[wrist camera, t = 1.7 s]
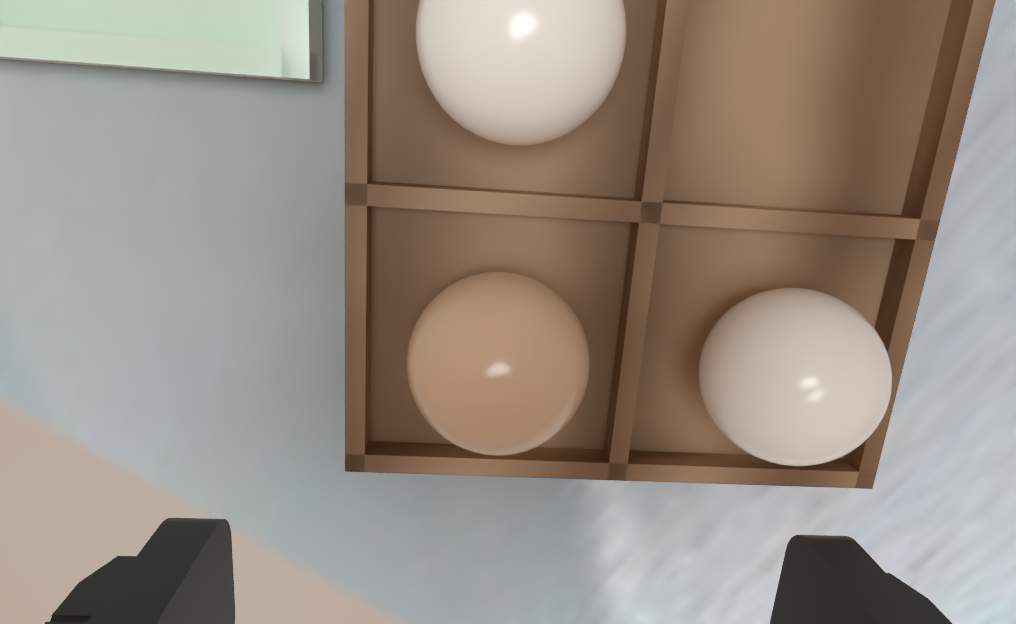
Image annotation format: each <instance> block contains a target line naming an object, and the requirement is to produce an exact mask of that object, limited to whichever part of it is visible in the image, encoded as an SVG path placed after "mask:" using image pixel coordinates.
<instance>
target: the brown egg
mask: <svg viewBox="0 0 1016 624" xmlns="http://www.w3.org/2000/svg"><path fill="white" fill-rule="evenodd" d="M589 372H590V354H589V347H588V343H587V339H586V335H585V332H584V330H583V327H582V325H581V322H580V321H579V319H578V317H577V315H576V314H575V312H574V311H573V310H572V308H571V307H570V306H569V304H568V303H567V302H566V301H565V300H564V299H563V298H562V297H561V296H560V295H559V294H558V293H557V292H555V291H554V290H553V289H551V288H550V287H549V286H547V285H545V284H543V283H542V282H540V281H538V280H535V279H533V278H530V277H528V276H525V275H521V274H517V273H511V272H486V273H480V274H476V275H472V276H469V277H466V278H464V279H461V280H459V281H457V282H455V283H454V284H452V285H450V286H449V287H447V288H445V289H444V290H443V291H442V292H440V293H439V294H438V295H437V296H436V297H435V298H434V299H433V300H432V301H431V302H430V303H429V304H428V305H427V307H426V308H425V309H424V310H423V312H422V313H421V315H420V317H419V319H418V320H417V322H416V324H415V326H414V329H413V331H412V334H411V337H410V341H409V345H408V352H407V376H408V382H409V386H410V390H411V393H412V396H413V399H414V401H415V403H416V405H417V407H418V409H419V411H420V412H421V414H422V415H423V417H424V418H425V419H426V421H427V422H428V423H429V424H430V425H431V426H432V428H433V429H434V430H435V431H436V432H438V433H439V434H440V435H441V436H442V437H444V438H445V439H447V440H448V441H450V442H451V443H453V444H455V445H457V446H459V447H461V448H463V449H466V450H469V451H472V452H475V453H480V454H484V455H495V456H497V455H511V454H517V453H521V452H525V451H528V450H531V449H533V448H536V447H538V446H540V445H541V444H543V443H545V442H547V441H548V440H550V439H551V438H552V437H554V436H555V435H557V434H558V433H559V432H560V431H561V430H562V429H563V428H564V427H565V426H566V425H567V424H568V423H569V421H570V420H571V419H572V418H573V416H574V414H575V413H576V411H577V410H578V408H579V406H580V404H581V402H582V399H583V397H584V395H585V392H586V389H587V385H588V380H589Z"/></svg>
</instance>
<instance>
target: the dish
mask: <svg viewBox="0 0 1016 624" xmlns="http://www.w3.org/2000/svg"><path fill="white" fill-rule="evenodd" d="M0 59H10V60H23V61H37V62H50V63H64V64H77V65H91V66H104V67H118V68H131V69H145V70H158V71H172V72H185V73H199V74H212V75H226V76H239V77H253V78H267V79H280V80H294V81H307V82H321V83H323V37H322V0H0Z"/></svg>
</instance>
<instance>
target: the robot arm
mask: <svg viewBox="0 0 1016 624" xmlns="http://www.w3.org/2000/svg"><path fill="white" fill-rule="evenodd" d="M45 624H235V600H234V580H233V561H232V541H231V530H230V525H229V523H228V521H227V520H226V519H194V518H168V519H166V520H165V521H163V522H162V524H161V525H160V526H159V527H158V529H157V530H156V531H155V533H154V534H153V535H152V537H151V538H150V539H149V541H148V542H147V543H146V545H145V546H144V547H143V549H142V550H141V551H140V553H139V554H138V555H137V557H135V556H117V557H116V558H114V559H113V560H112V561H110V562H109V563H107V564H106V565H104V566H103V567H101V568H100V569H98V570H97V571H95V572H94V573H93V574H91V575H89V576H88V577H87V578H85V579H84V580H82V581H81V582H79V583H78V584H77V586H76V587H75V588H74V589H73V590H72V592H71V593H70V594H69V595H68V596H67V597H66V599H65V600H64V601H63V602H62V603H61V605H60V606H59V607H58V609H57V610H56V611H55V612H54V613H53V614H52V618H51V621H50V622H46V623H45ZM770 624H952V623H951V622H950V621H949V620H948V619H947V618H946V617H945V616H944V615H943V614H942V613H941V612H940V611H939V609H938V608H937V607H936V606H935V605H934V604H933V603H932V602H931V601H930V600H929V599H928V598H926V597H925V596H923V595H922V594H920V593H919V592H917V591H916V590H914V589H913V588H911V587H910V586H908V585H907V584H905V583H904V582H902V581H901V580H899V579H898V578H896V577H895V576H893V575H892V574H890V573H885V572H884V571H883V570H882V569H881V568H880V567H879V565H878V564H877V563H876V562H875V561H874V560H873V559H872V558H871V557H870V556H869V555H868V554H867V553H866V551H865V550H864V549H863V548H862V547H861V546H860V545H859V544H858V543H857V542H856V541H855V540H854V539H852V538H850V537H847V536H818V535H796V536H794V537H792V538H791V540H790V541H789V543H788V545H787V548H786V552H785V557H784V561H783V566H782V570H781V575H780V580H779V584H778V589H777V593H776V598H775V602H774V607H773V611H772V616H771V621H770Z"/></svg>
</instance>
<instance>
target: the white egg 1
mask: <svg viewBox="0 0 1016 624" xmlns="http://www.w3.org/2000/svg"><path fill="white" fill-rule="evenodd" d="M626 31H627V27H626V13H625V8H624V3H623V0H420V1H419V6H418V10H417V18H416V46H417V52H418V59H419V62H420V66H421V69H422V73H423V75H424V78H425V80H426V82H427V85H428V87H429V89H430V90H431V92H432V94H433V96H434V97H435V99H436V100H437V102H438V103H439V104H440V106H441V107H442V108H443V110H444V111H445V112H446V113H447V114H448V115H449V116H450V117H451V118H452V119H453V120H454V121H456V122H457V123H458V124H459V125H461V126H462V127H463V128H465V129H466V130H468V131H470V132H471V133H473V134H475V135H477V136H479V137H481V138H484V139H486V140H489V141H492V142H496V143H500V144H506V145H513V146H527V145H534V144H540V143H544V142H548V141H551V140H554V139H556V138H559V137H561V136H563V135H566V134H567V133H569V132H571V131H573V130H574V129H576V128H577V127H579V126H580V125H581V124H583V123H584V122H585V121H586V120H588V119H589V118H590V117H591V116H592V115H593V114H594V113H595V112H596V111H597V110H598V108H599V107H600V106H601V104H602V103H603V102H604V101H605V99H606V98H607V96H608V94H609V93H610V91H611V89H612V88H613V86H614V83H615V81H616V79H617V76H618V74H619V71H620V68H621V64H622V61H623V57H624V51H625V46H626Z"/></svg>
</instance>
